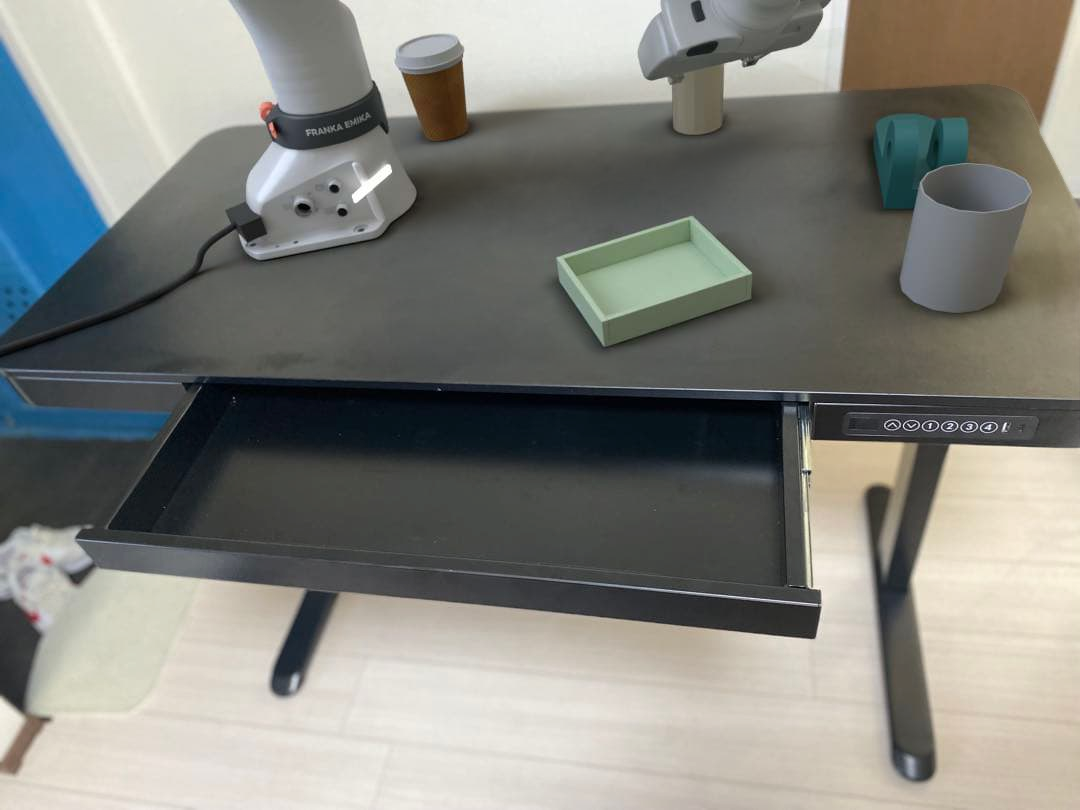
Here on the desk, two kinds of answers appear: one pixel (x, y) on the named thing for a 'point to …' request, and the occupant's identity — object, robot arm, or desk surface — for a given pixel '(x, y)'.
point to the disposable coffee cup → (435, 83)
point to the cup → (963, 236)
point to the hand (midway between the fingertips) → (710, 69)
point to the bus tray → (653, 280)
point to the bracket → (915, 153)
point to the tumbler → (699, 101)
